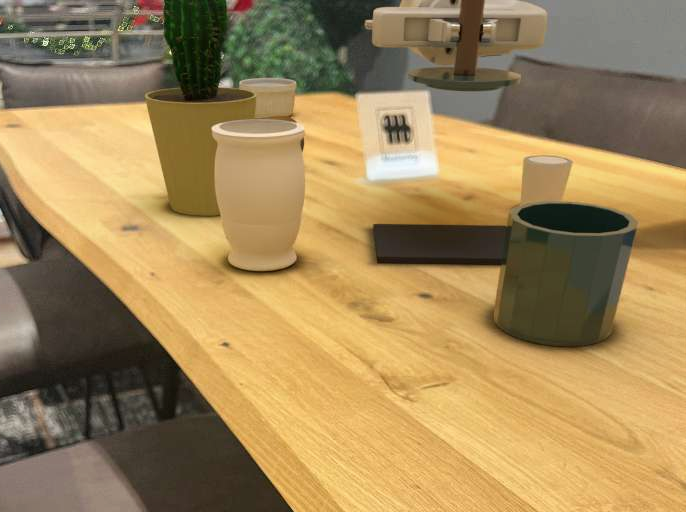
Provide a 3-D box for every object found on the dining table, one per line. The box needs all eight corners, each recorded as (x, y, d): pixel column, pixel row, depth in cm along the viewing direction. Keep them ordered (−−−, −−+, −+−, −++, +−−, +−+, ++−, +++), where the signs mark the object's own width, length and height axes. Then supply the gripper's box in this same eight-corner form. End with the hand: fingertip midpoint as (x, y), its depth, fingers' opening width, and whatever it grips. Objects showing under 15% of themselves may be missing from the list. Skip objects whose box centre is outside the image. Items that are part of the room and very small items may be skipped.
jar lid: (508, 79, 92) (521, -13, 87) (529, 95, 82) (546, -8, 76) (404, 77, 92) (410, -14, 87) (412, 93, 82) (420, -10, 77)
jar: (285, 280, 87) (283, 138, 79) (204, 269, 90) (194, 131, 82) (317, 253, 96) (318, 121, 87) (241, 243, 98) (236, 115, 90)
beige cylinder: (561, 218, 109) (571, 166, 105) (512, 214, 111) (521, 162, 107) (564, 206, 114) (574, 156, 110) (518, 202, 116) (526, 152, 112)
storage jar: (593, 303, 82) (616, 202, 76) (626, 347, 73) (655, 236, 67) (485, 301, 83) (500, 200, 76) (504, 345, 73) (523, 234, 67)
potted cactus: (203, 226, 105) (183, -42, 87) (135, 205, 113) (104, -42, 96) (282, 205, 114) (278, -41, 96) (213, 187, 122) (198, -42, 105)
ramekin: (275, 122, 171) (274, 87, 167) (228, 116, 177) (226, 82, 173) (307, 114, 180) (307, 80, 176) (262, 108, 186) (261, 76, 182)
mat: (505, 231, 104) (506, 225, 103) (525, 265, 92) (526, 258, 92) (372, 229, 104) (373, 223, 104) (377, 263, 93) (377, 256, 92)
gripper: (363, -8, 92) (378, -2, 81) (529, -7, 93) (567, -1, 82) (361, 52, 96) (375, 66, 85) (521, 53, 97) (555, 66, 86)
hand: (471, 33), depth 83 cm, fingers closed on jar lid, 2 cm apart
